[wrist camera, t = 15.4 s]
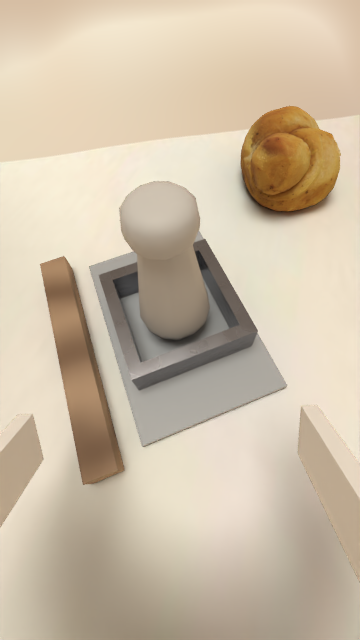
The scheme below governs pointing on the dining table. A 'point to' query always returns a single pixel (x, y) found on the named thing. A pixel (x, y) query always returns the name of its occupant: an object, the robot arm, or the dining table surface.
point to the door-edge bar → (80, 376)
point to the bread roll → (289, 160)
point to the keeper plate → (183, 352)
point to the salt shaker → (166, 258)
